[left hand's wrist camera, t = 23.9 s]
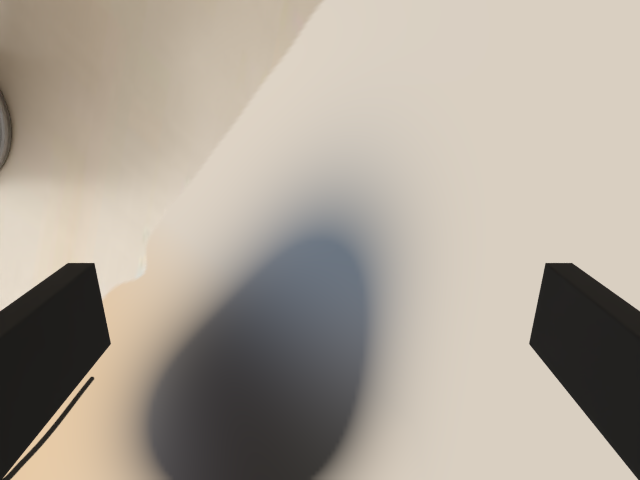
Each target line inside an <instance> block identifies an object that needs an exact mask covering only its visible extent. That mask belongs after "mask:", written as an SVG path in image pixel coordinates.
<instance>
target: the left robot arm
mask: <svg viewBox="0 0 640 480" xmlns="http://www.w3.org/2000/svg"><path fill="white" fill-rule="evenodd" d="M10 145H11V120H10V115H9V111H8V108H7V104H6V102H5V99H4V97H3V95H2V93H1V91H0V169H1V167H2V166H3V164H4V162H5V160H6V158H7V156H8V153H9V149H10ZM110 344H111V343H110V338H109V333H108V328H107V323H106V318H105V313H104V308H103V303H102V298H101V293H100V289H99V284H98V279H97V274H96V269H95V264H94V263H68V264H66V265H65V266H63V267H62V268H61V269H59V270H58V271H56V272H55V273H53V274H52V275H51V276H49V277H48V278H46V279H45V280H44V281H42V282H41V283H39V284H38V285H37V286H35V287H34V288H32V289H31V290H30V291H28V292H27V293H25V294H24V295H23V296H21V297H20V298H18V299H17V300H16V301H14V302H13V303H11V304H10V305H9V306H7V307H6V308H4V309H3V310H2V311H0V480H11V479H12V478H13V477H14V475H15V474H16V473H17V472H18V471H19V470H20V469H21V468H22V467H23V466H24V464H25V463H26V462H27V461H28V460H29V459H30V458H31V457H32V456H33V455H34V454H35V453H36V452H37V451H38V450H39V448H40V447H41V446H42V445H43V444H44V443H45V442H46V440H47V439H48V438H49V437H50V436H51V434H52V433H53V432H54V431H55V430H56V428H57V427H58V426H59V425H60V423H61V422H62V421H63V419H64V418H65V417H66V415H67V414H68V413H69V411H70V410H71V409H72V407H73V406H74V405H75V404H76V402H77V401H78V400H79V398H80V397H81V396H82V394H83V393H84V392H85V390H86V389H87V388H88V387H89V385H90V384H91V383H92V381H93V380H94V377H90V378H89V380H88V381H87V382H86V383H85V384H84V386H83V387H82V388H81V389H80V391H79V392H78V393H77V395H76V396H75V397H74V398H73V400H72V401H71V402H70V404H69V405H68V406H67V407H66V409H65V410H64V411H63V413H62V414H61V415H60V417H59V418H58V419H57V420H56V422H55V423H54V424H53V425H52V426H51V428H50V429H49V430H48V431H47V432H46V434H45V435H44V436H43V437H42V438H41V439H40V441H39V442H38V443H37V444H36V445H35V446H34V447H33V448H32V449H31V450H30V451H29V452H28V454H27V455H26V456H25V457H24V458H23V459H22V460H21V461H20V462H19V463H18V464H17V465H16V466H15V467H14V468H13V469H12V470H11V471H10V472H9V473H8V474H7V472H8V471H9V470H10V469H11V467H12V466H13V465H14V464H15V462H16V461H17V460H18V459H19V457H20V456H21V455H22V454H23V452H24V451H25V450H26V449H27V447H28V446H29V445H30V444H31V442H32V441H33V440H34V439H35V437H36V436H37V435H38V434H39V432H40V431H41V430H42V429H43V427H44V426H45V425H46V424H47V423H48V421H49V420H50V419H51V417H52V416H53V415H54V414H55V413H56V411H57V410H58V409H59V408H60V406H61V405H62V404H63V403H64V401H65V400H66V399H67V398H68V396H69V395H70V394H71V393H72V391H73V390H74V389H75V388H76V386H77V385H78V384H79V383H80V381H81V380H82V379H83V378H84V376H85V375H86V374H87V373H88V372H89V370H90V369H91V368H92V367H93V365H94V364H95V363H96V362H97V360H98V359H99V358H100V357H101V355H102V354H103V353H104V352H105V350H106V349H107V348H108V347H109V345H110ZM529 344H530V345H531V347H532V348H533V349H534V350H535V352H536V353H537V354H538V355H539V357H540V358H541V359H542V360H543V362H544V363H545V364H546V365H547V367H548V368H549V369H550V370H551V372H552V373H553V374H554V375H555V377H556V378H557V379H558V380H559V382H560V383H561V384H562V385H563V387H564V388H565V389H566V390H567V391H568V393H569V394H570V395H571V396H572V398H573V399H574V400H575V401H576V403H577V404H578V405H579V406H580V408H581V409H582V410H583V411H584V413H585V414H586V415H587V416H588V418H589V419H590V420H591V421H592V423H593V424H594V425H595V426H596V428H597V429H598V430H599V431H600V433H601V434H602V435H603V436H604V437H605V439H606V440H607V441H608V442H609V444H610V445H611V446H612V447H613V449H614V450H615V451H616V452H617V454H618V455H619V456H620V457H621V459H622V460H623V461H624V462H625V464H626V465H627V466H628V467H629V469H630V470H631V471H632V472H633V474H634V475H635V476H636V477H637V478H638V480H640V311H638V310H637V309H636V308H634V307H633V306H631V305H630V304H629V303H627V302H626V301H624V300H623V299H622V298H620V297H619V296H617V295H616V294H615V293H613V292H612V291H610V290H609V289H608V288H606V287H605V286H603V285H602V284H601V283H599V282H598V281H596V280H595V279H594V278H592V277H591V276H589V275H588V274H586V273H585V272H584V271H582V270H581V269H579V268H578V267H577V266H575V265H574V264H572V263H546V264H545V269H544V274H543V279H542V284H541V289H540V294H539V298H538V303H537V308H536V313H535V318H534V323H533V328H532V333H531V338H530V343H529ZM6 474H7V475H6ZM5 475H6V476H5ZM4 476H5V477H4ZM3 477H4V478H3Z"/></svg>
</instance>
